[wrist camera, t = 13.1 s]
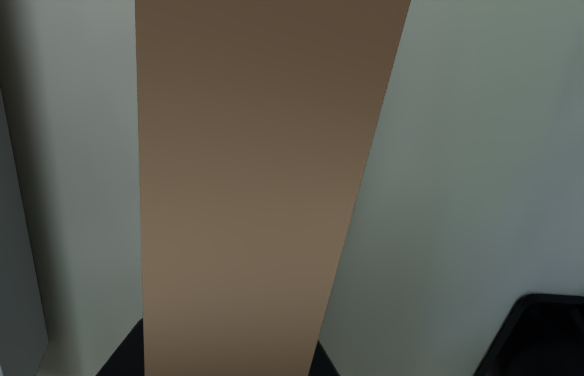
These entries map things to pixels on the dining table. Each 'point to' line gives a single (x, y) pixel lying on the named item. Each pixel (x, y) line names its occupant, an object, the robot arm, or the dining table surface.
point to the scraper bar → (251, 171)
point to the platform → (17, 275)
